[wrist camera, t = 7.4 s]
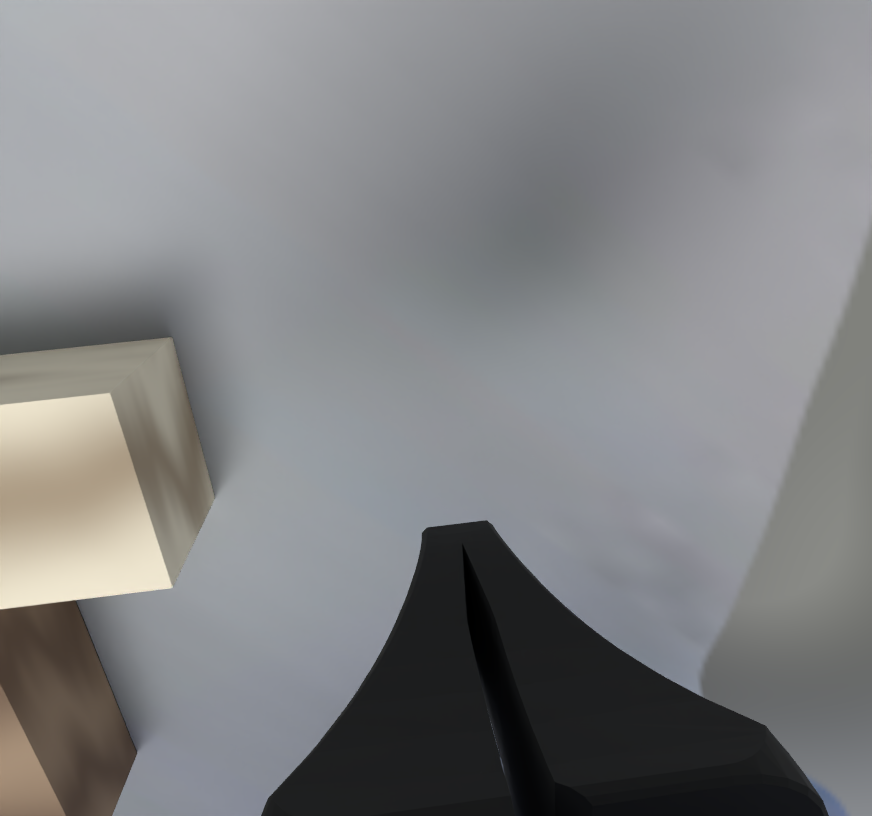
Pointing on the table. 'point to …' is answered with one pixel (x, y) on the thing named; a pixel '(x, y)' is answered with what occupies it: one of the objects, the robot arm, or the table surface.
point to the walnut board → (57, 718)
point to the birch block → (96, 472)
